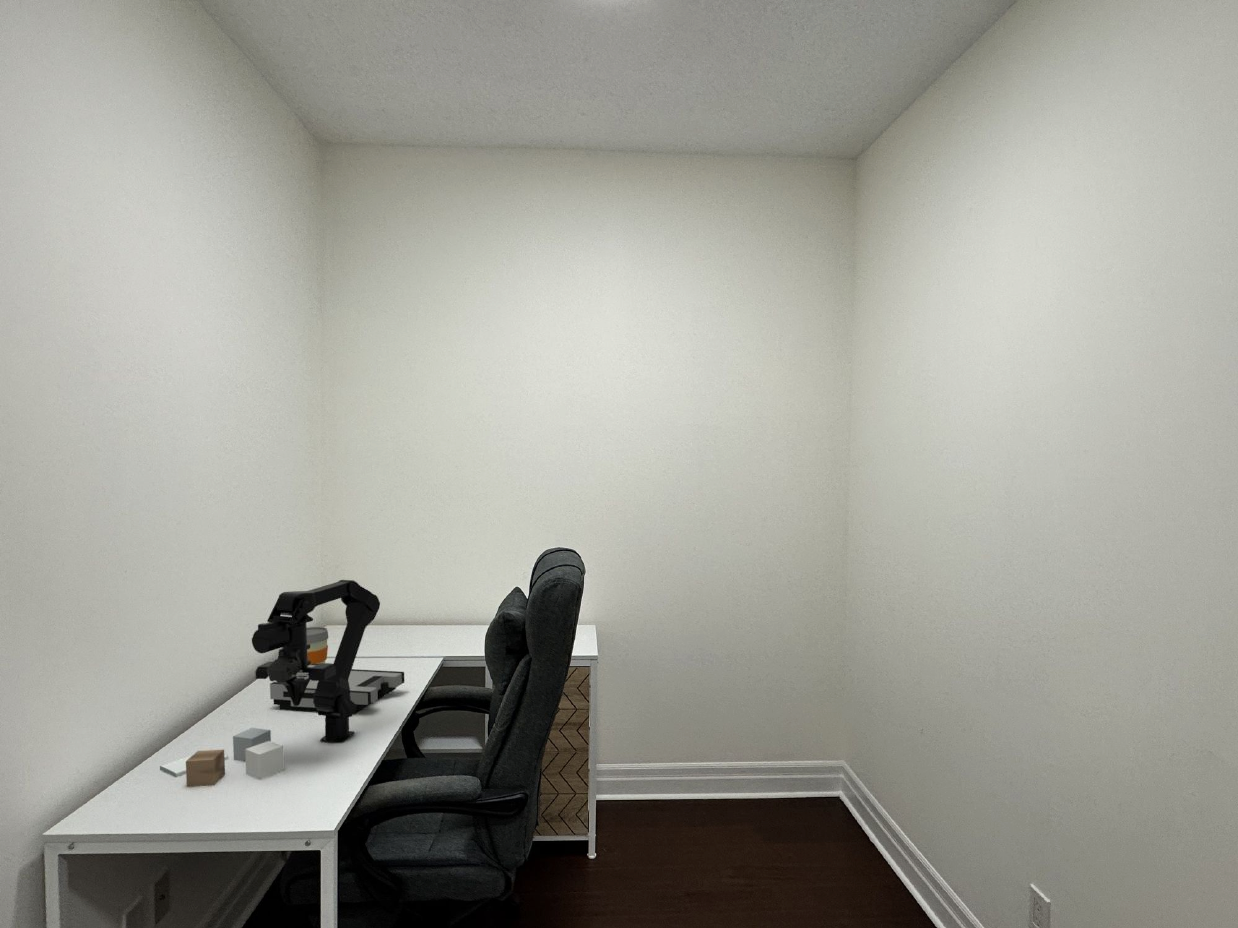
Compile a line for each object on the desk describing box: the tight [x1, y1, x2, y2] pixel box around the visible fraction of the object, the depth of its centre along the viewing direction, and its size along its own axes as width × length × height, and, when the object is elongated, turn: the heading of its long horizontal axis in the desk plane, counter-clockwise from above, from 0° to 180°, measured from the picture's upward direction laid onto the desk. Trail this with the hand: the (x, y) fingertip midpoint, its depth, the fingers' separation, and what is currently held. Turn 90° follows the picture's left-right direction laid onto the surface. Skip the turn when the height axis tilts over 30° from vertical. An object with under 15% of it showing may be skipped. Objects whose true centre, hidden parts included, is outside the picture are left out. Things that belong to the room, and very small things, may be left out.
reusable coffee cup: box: [307, 626, 329, 664], centre depth 261 cm, size 13×13×15 cm
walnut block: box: [185, 749, 226, 788], centre depth 179 cm, size 6×6×6 cm
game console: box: [269, 664, 405, 716], centre depth 233 cm, size 21×32×8 cm, turn 77°
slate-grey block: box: [232, 727, 272, 763], centre depth 193 cm, size 6×6×6 cm
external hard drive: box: [159, 748, 229, 778], centre depth 189 cm, size 2×8×12 cm
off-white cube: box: [245, 740, 285, 780], centre depth 183 cm, size 6×6×6 cm
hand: (296, 705), depth 191 cm, fingers closed
